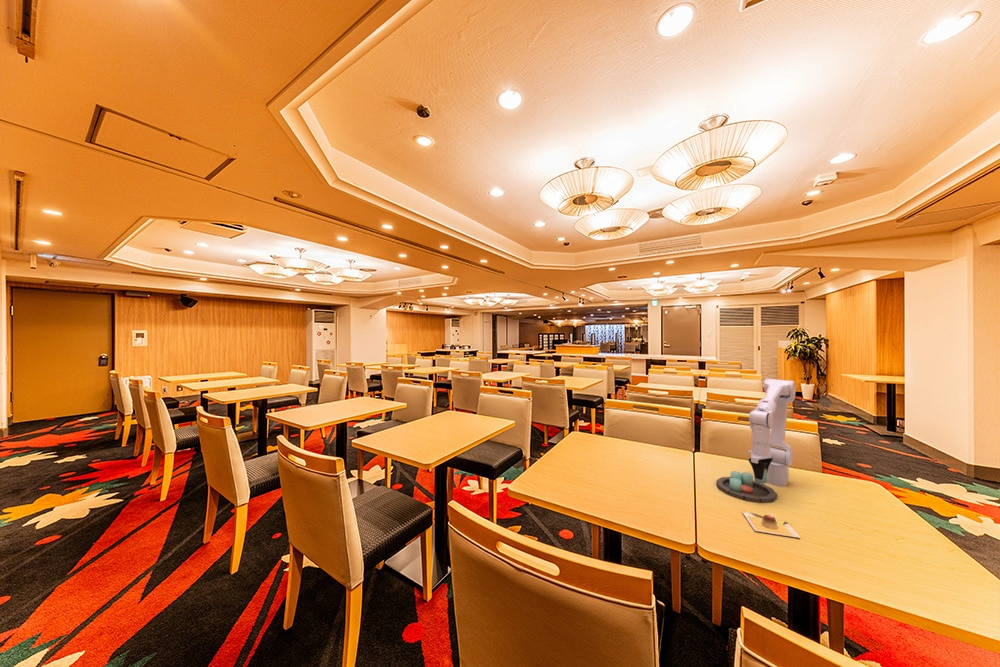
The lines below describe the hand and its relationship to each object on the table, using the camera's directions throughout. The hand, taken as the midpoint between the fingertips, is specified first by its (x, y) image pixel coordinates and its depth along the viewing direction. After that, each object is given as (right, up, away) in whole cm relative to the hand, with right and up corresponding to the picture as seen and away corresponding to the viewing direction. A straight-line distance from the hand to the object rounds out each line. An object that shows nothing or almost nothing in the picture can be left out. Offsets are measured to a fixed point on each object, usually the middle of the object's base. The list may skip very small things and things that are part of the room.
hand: (760, 477), depth 132 cm
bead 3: (0, -2, 0) cm, 2 cm away
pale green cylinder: (0, -7, +8) cm, 10 cm away
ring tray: (-3, -8, +4) cm, 10 cm away
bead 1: (-3, -7, +9) cm, 12 cm away
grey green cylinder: (-8, -7, +2) cm, 11 cm away
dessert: (-11, -9, -18) cm, 23 cm away
